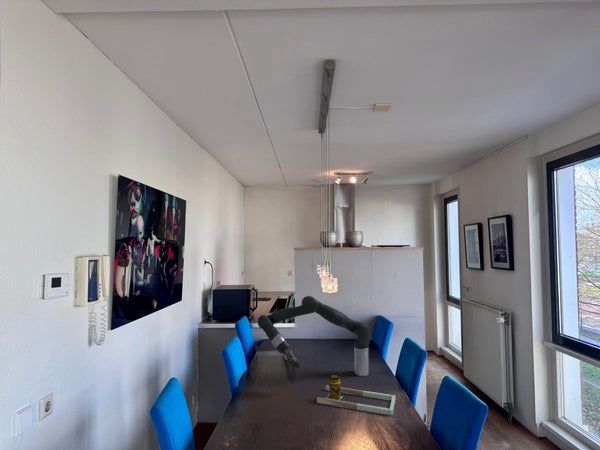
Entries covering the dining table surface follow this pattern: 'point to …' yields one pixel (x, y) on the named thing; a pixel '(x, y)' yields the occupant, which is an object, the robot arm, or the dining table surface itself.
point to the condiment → (335, 388)
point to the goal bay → (374, 408)
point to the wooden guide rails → (338, 402)
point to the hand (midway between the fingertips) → (299, 366)
